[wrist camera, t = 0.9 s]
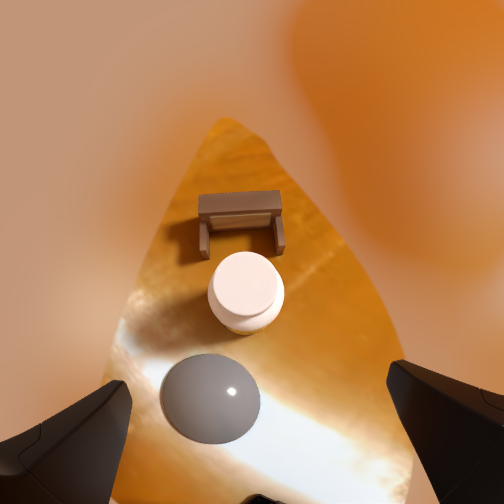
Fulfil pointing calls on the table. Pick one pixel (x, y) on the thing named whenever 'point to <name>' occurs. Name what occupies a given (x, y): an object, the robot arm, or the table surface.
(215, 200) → the bracket
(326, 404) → the table surface
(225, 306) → the supplement bottle
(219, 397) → the slate coaster
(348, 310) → the table surface
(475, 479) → the robot arm
